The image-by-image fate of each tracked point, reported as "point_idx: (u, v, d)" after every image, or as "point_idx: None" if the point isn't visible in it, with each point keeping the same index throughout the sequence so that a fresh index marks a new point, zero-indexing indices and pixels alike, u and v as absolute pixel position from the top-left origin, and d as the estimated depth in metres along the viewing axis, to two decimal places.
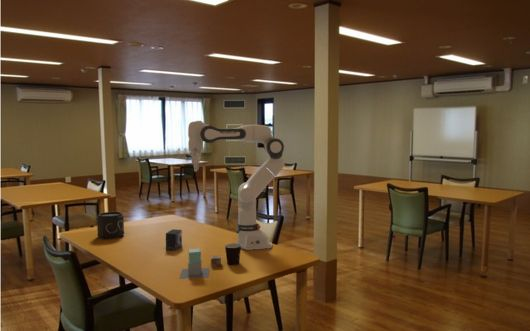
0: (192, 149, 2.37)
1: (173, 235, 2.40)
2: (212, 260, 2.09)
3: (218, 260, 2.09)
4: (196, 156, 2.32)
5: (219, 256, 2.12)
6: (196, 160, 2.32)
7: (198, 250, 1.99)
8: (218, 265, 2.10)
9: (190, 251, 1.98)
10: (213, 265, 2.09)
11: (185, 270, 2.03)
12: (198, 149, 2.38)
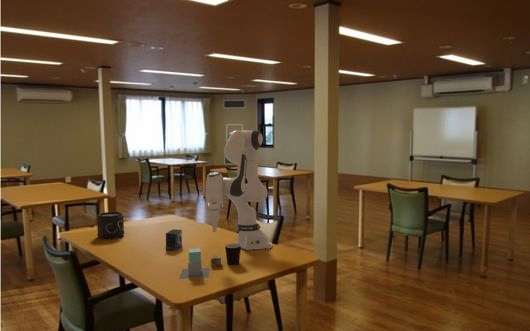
0: None
1: (173, 235, 2.40)
2: (212, 260, 2.09)
3: (218, 260, 2.09)
4: None
5: (219, 256, 2.12)
6: None
7: (198, 250, 1.99)
8: (218, 265, 2.10)
9: (190, 251, 1.98)
10: (213, 265, 2.09)
11: (185, 270, 2.03)
12: None
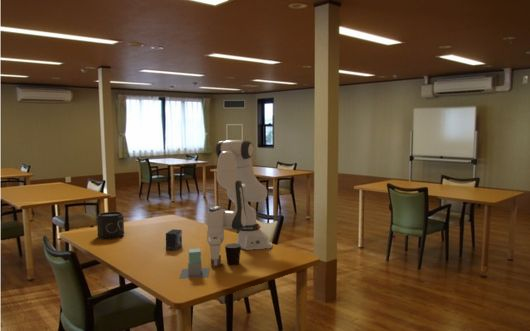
0: None
1: (173, 235, 2.40)
2: (212, 260, 2.09)
3: (218, 260, 2.09)
4: None
5: (219, 256, 2.12)
6: None
7: (198, 250, 1.99)
8: (218, 265, 2.10)
9: (190, 251, 1.98)
10: (213, 265, 2.09)
11: (185, 270, 2.03)
12: None
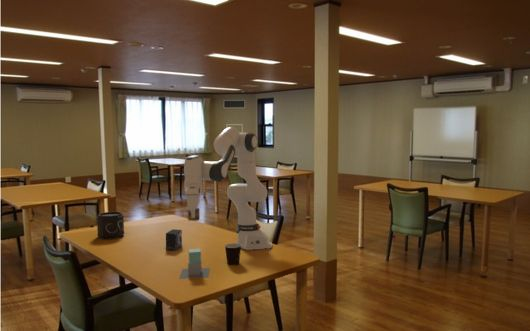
0: None
1: (173, 235, 2.40)
2: (189, 212, 1.95)
3: (196, 212, 1.95)
4: None
5: (197, 209, 1.98)
6: None
7: (198, 250, 1.99)
8: (195, 217, 1.96)
9: (190, 251, 1.98)
10: (190, 218, 1.95)
11: (185, 270, 2.03)
12: None
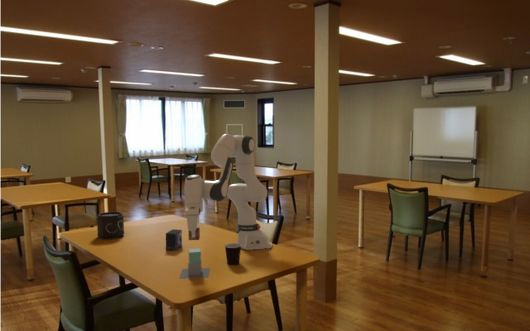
0: None
1: (173, 235, 2.40)
2: (190, 232, 1.96)
3: (196, 232, 1.96)
4: None
5: (198, 228, 1.99)
6: None
7: (198, 250, 1.99)
8: (196, 237, 1.96)
9: (190, 251, 1.98)
10: (191, 237, 1.96)
11: (185, 270, 2.03)
12: None
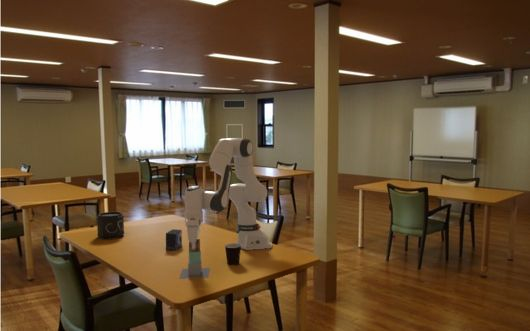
0: None
1: (173, 235, 2.40)
2: (190, 244, 1.96)
3: (196, 244, 1.97)
4: None
5: (198, 240, 2.00)
6: None
7: None
8: (196, 249, 1.97)
9: None
10: (191, 249, 1.97)
11: (185, 270, 2.03)
12: None
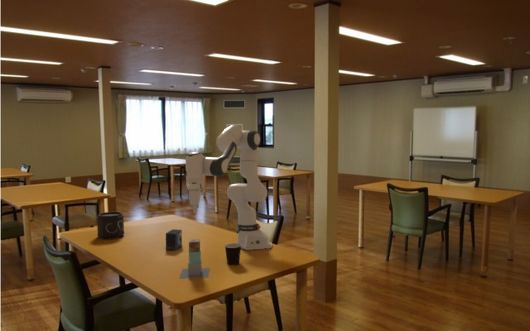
0: None
1: (173, 235, 2.40)
2: (190, 244, 1.96)
3: (196, 244, 1.97)
4: None
5: (198, 240, 2.00)
6: None
7: None
8: (196, 249, 1.97)
9: None
10: (191, 249, 1.97)
11: (185, 270, 2.03)
12: None
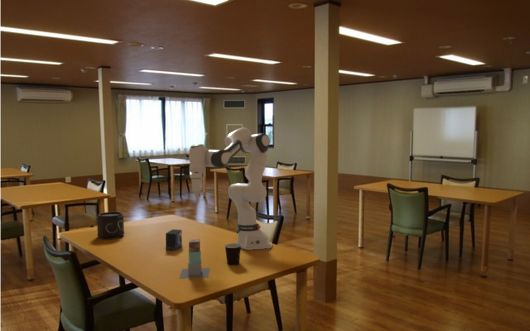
0: None
1: (173, 235, 2.40)
2: (190, 244, 1.96)
3: (196, 244, 1.97)
4: None
5: (198, 240, 2.00)
6: None
7: None
8: (196, 249, 1.97)
9: None
10: (191, 249, 1.97)
11: (185, 270, 2.03)
12: None
